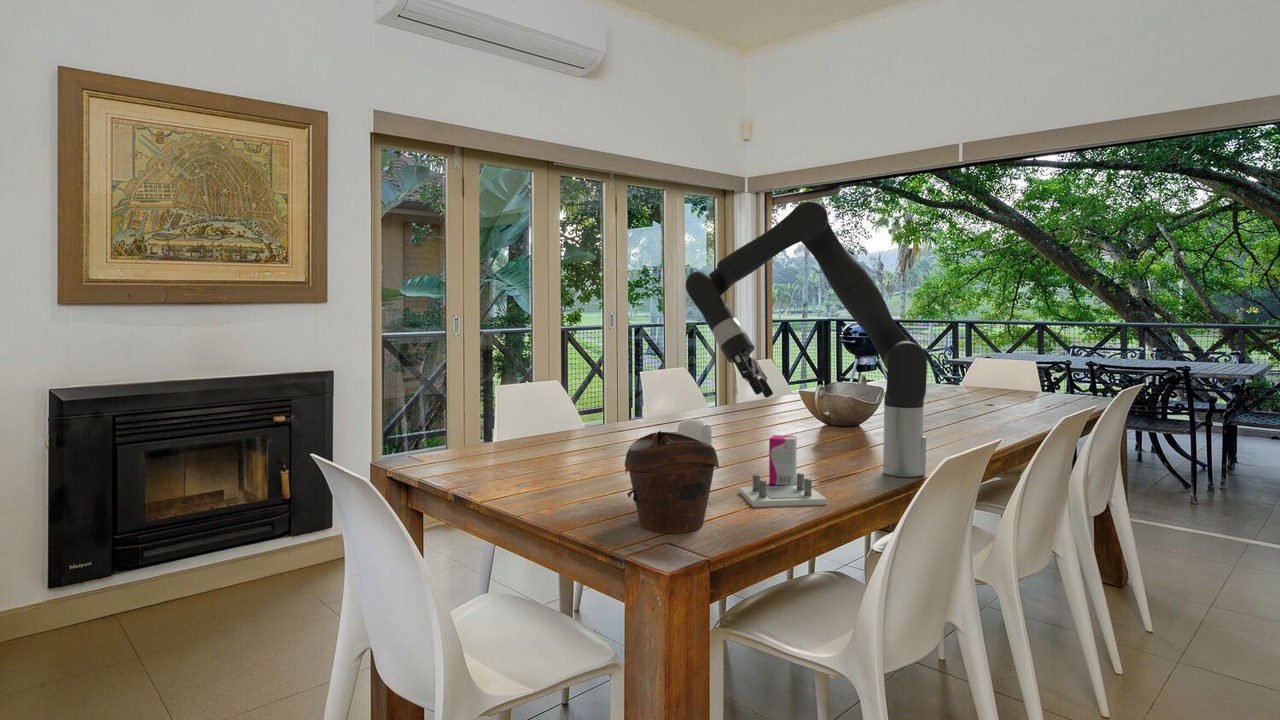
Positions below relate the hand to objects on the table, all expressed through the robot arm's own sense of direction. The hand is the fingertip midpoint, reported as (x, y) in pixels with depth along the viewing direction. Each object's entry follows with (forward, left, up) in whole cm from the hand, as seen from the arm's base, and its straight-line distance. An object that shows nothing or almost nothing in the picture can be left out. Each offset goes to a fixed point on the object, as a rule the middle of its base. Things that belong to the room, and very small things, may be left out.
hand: (765, 394), depth 177 cm
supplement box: (-2, +7, -21) cm, 22 cm away
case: (+29, +34, -21) cm, 49 cm away
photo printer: (+15, -16, -21) cm, 30 cm away
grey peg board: (+2, +19, -21) cm, 28 cm away
